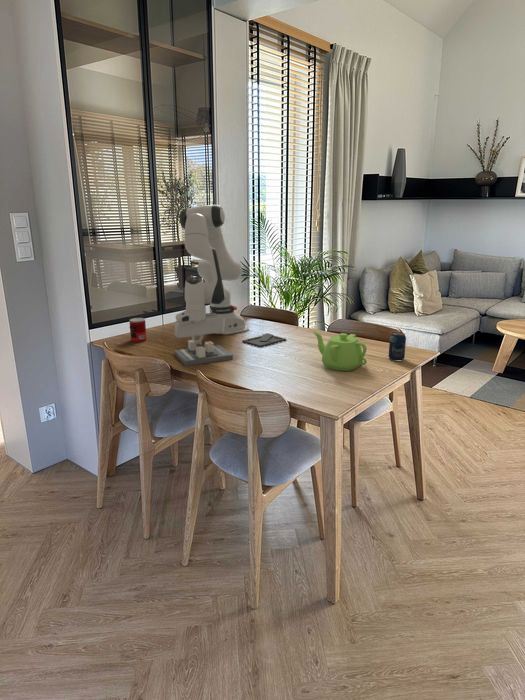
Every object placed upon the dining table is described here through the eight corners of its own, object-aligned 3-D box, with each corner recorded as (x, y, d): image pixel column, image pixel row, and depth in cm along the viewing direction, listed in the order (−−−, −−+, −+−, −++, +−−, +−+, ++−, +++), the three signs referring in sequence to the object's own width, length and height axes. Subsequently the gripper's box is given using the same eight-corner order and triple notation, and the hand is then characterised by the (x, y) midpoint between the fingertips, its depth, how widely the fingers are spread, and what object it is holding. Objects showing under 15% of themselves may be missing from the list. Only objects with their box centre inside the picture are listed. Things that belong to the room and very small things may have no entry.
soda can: (392, 362, 215) (394, 336, 211) (385, 357, 221) (387, 332, 218) (407, 361, 216) (409, 335, 213) (399, 356, 222) (401, 331, 219)
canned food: (148, 338, 254) (147, 317, 251) (143, 342, 246) (141, 321, 243) (134, 338, 255) (132, 317, 251) (128, 342, 247) (127, 321, 244)
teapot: (370, 371, 203) (372, 338, 199) (324, 375, 199) (326, 341, 195) (354, 358, 221) (355, 327, 216) (311, 361, 217) (312, 329, 213)
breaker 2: (202, 354, 218) (202, 346, 217) (205, 357, 215) (205, 348, 214) (196, 355, 217) (195, 347, 216) (198, 358, 214) (198, 349, 213)
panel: (219, 348, 235) (218, 344, 235) (232, 359, 220) (232, 354, 219) (174, 354, 227) (174, 350, 226) (185, 365, 211) (185, 360, 210)
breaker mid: (211, 349, 226) (210, 340, 225) (213, 351, 223) (213, 343, 221) (204, 350, 225) (204, 341, 224) (207, 352, 221) (207, 343, 220)
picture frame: (268, 336, 258) (242, 343, 246) (268, 333, 258) (242, 339, 246) (286, 341, 249) (260, 348, 237) (286, 337, 248) (260, 344, 237)
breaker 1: (194, 347, 229) (194, 339, 228) (197, 350, 225) (196, 341, 224) (188, 348, 228) (188, 340, 226) (190, 350, 224) (190, 342, 223)
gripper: (215, 310, 223) (216, 339, 228) (171, 315, 215) (174, 345, 219) (220, 313, 218) (221, 343, 222) (175, 319, 210) (178, 349, 214)
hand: (197, 344), depth 221 cm, fingers closed
